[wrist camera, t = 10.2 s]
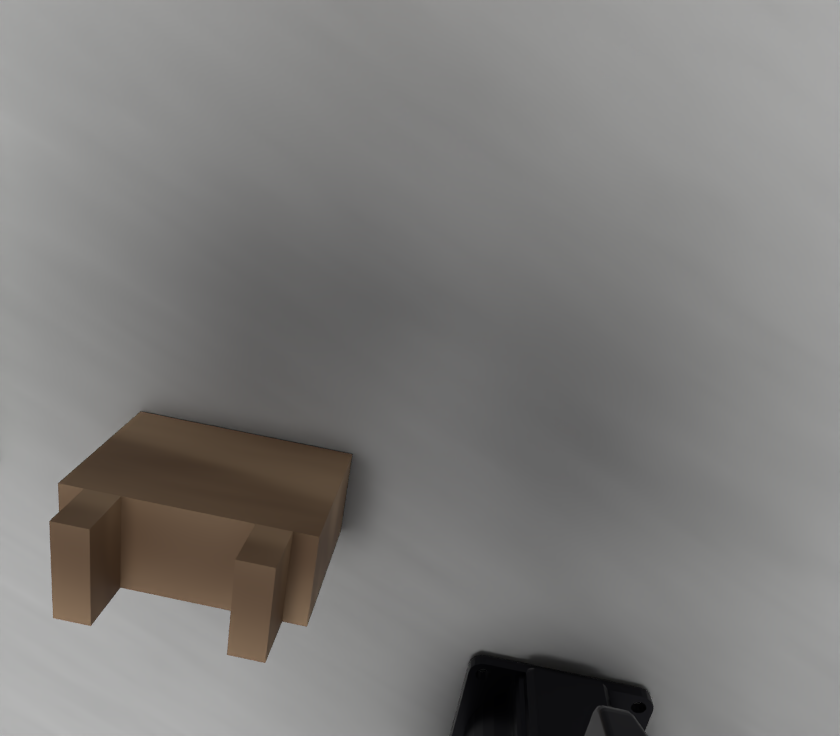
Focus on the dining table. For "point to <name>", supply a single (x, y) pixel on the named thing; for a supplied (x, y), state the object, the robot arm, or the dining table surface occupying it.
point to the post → (200, 525)
